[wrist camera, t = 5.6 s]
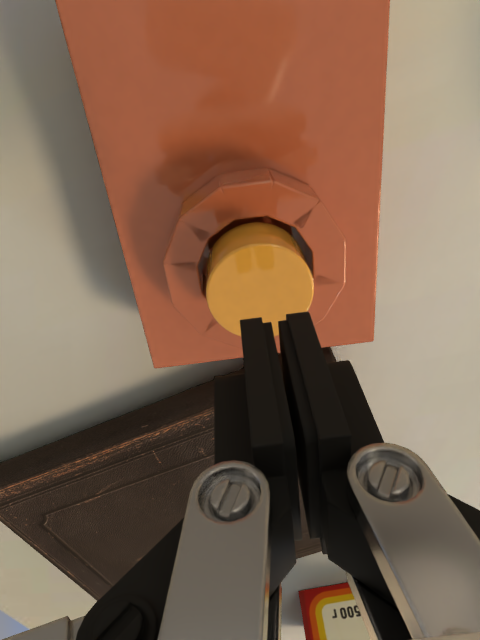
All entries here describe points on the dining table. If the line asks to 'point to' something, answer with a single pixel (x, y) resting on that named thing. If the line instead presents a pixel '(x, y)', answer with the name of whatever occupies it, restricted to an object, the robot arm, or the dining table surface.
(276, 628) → the robot arm
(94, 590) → the hardcover book
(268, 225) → the yellow push button
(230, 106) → the push button box
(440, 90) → the dining table surface
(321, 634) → the baking soda box
